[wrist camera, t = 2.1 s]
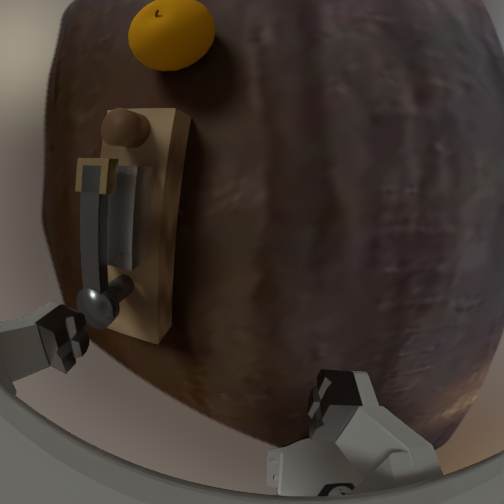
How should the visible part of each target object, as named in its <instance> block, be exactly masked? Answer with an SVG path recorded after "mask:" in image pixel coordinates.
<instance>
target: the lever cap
mask: <svg viewBox="0 0 504 504" xmlns="http://www.w3.org/2000/svg"><path fill="white" fill-rule="evenodd" d="M154 175H155V167H151V166H137V165H121V164H118V169H117V179H116V191H115V193H111V194H109V198H108V220H107V263H108V265H110V266H114V267H118V268H121V269H125V270H129V271H133V270H134V269H135V268H137V267H138V266H140V265H141V264H143V263H144V262H146V261H147V260H148V254H149V232H150V217H151V204H152V193H153V184H154Z"/></svg>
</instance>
